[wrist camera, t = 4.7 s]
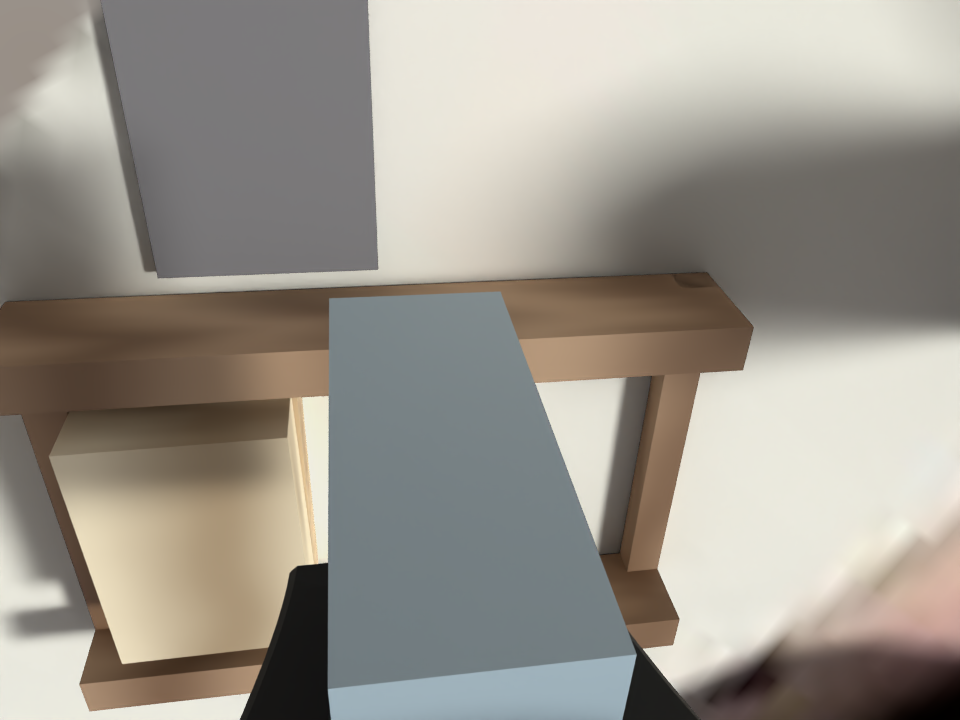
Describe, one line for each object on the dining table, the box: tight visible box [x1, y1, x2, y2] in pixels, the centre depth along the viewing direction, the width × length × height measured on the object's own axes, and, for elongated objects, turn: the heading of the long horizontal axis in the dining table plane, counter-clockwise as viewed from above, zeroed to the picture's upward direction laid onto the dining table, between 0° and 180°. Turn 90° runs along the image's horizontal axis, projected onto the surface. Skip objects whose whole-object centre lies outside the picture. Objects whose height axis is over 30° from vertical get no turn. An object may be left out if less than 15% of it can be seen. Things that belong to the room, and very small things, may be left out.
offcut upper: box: [49, 398, 314, 664], centre depth 20 cm, size 5×7×2 cm
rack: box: [0, 272, 754, 711], centre depth 22 cm, size 17×11×3 cm
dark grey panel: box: [101, 0, 378, 278], centre depth 17 cm, size 5×7×1 cm
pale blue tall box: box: [328, 292, 637, 720], centre depth 11 cm, size 2×7×6 cm, turn 178°
